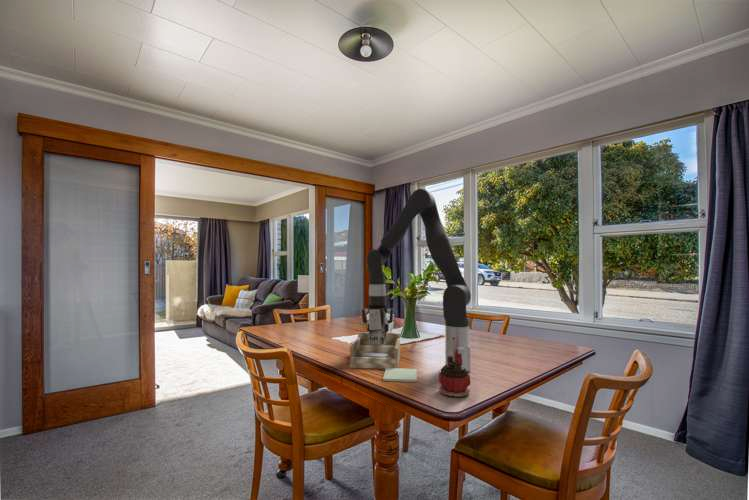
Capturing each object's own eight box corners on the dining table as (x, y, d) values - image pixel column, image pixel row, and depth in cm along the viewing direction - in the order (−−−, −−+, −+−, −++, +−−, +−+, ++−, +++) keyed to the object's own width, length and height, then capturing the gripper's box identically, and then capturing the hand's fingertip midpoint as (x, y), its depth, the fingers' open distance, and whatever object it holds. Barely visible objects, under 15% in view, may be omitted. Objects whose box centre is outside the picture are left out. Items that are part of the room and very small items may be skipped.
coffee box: (383, 347, 151) (383, 309, 152) (368, 346, 152) (368, 308, 153) (387, 342, 160) (386, 306, 161) (373, 342, 161) (372, 306, 162)
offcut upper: (388, 360, 147) (388, 354, 147) (385, 363, 142) (385, 356, 143) (365, 357, 150) (365, 351, 150) (361, 360, 146) (361, 354, 146)
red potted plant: (435, 387, 120) (435, 333, 121) (463, 386, 121) (462, 333, 121) (444, 399, 110) (444, 340, 110) (474, 398, 110) (473, 340, 111)
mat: (416, 370, 138) (416, 368, 138) (416, 382, 125) (416, 379, 126) (385, 369, 140) (385, 367, 140) (382, 380, 127) (382, 378, 127)
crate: (400, 355, 162) (400, 333, 162) (397, 369, 141) (397, 343, 141) (358, 354, 164) (358, 332, 164) (349, 367, 143) (349, 342, 143)
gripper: (394, 293, 160) (394, 331, 159) (362, 293, 162) (362, 330, 161) (393, 295, 153) (393, 334, 152) (360, 295, 154) (360, 334, 154)
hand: (377, 332), depth 157 cm, fingers closed on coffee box, 6 cm apart
